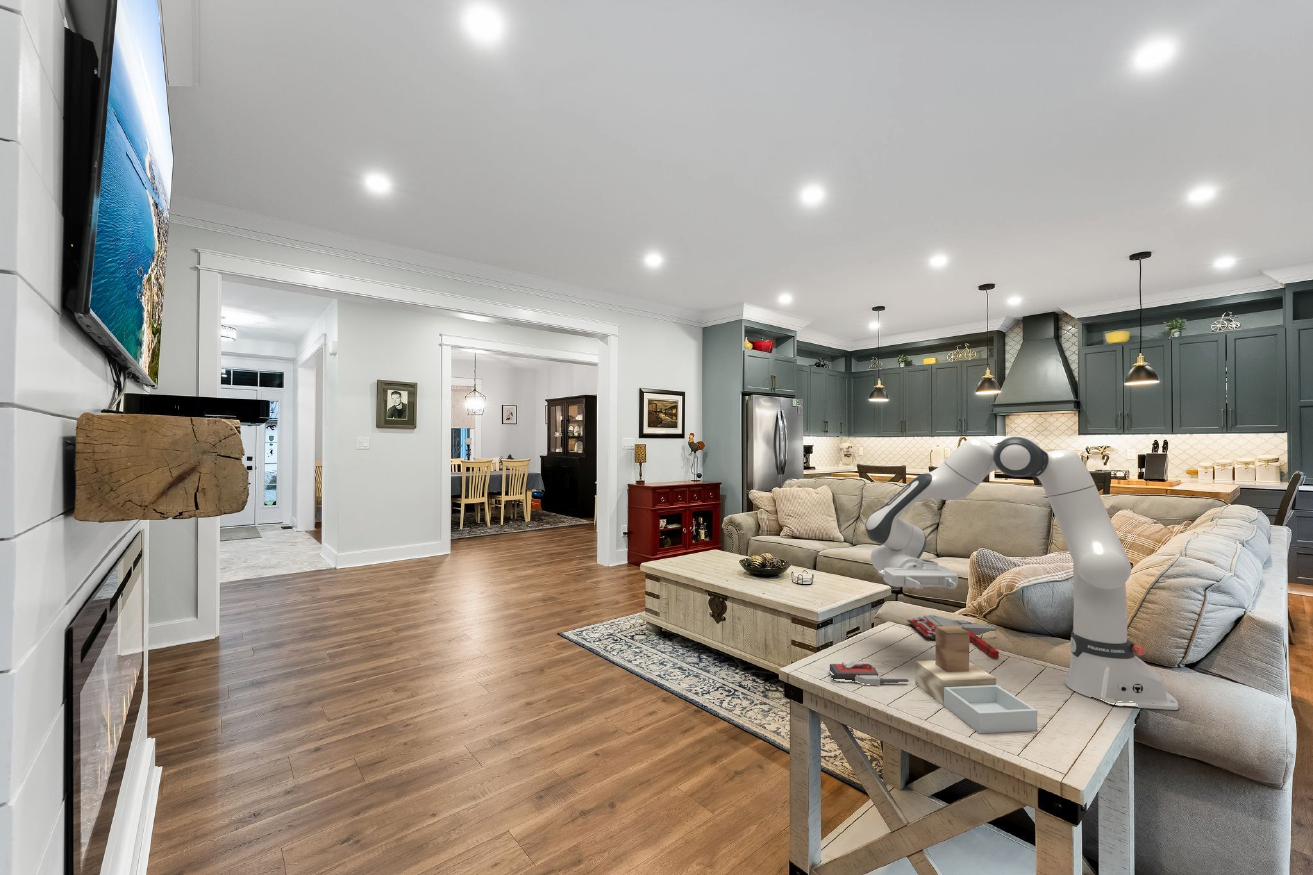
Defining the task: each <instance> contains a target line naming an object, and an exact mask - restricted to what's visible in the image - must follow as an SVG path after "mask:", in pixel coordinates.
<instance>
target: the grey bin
mask: <svg viewBox="0 0 1313 875" xmlns="http://www.w3.org/2000/svg"><path fill="white" fill-rule="evenodd" d="M943 706H944V707H945V708H946V709H948V710H949V711H950V712H951V713H952V714H954V715H955V716H956V717H957V718H959V719H960V720H961V721H962V722H964V723H965V724H966V725H968V726H969V727H970V728H971V729H973V730H974V731H976V732H977V734H994V733H1013V732H1015V733H1016V732H1030V731H1038V709H1036V708H1034V707H1033V706H1031V705H1029V704H1028V703H1026V702H1025V701H1023V699H1020V698H1019V697H1017V696H1016V695H1014V694H1013V693H1010V692H1009V691H1007V690H1006V689H1004V688H1003V687H1001V686H999V684H996V685H983V686H961V687H944V705H943Z"/></svg>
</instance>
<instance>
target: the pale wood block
mask: <svg viewBox="0 0 1313 875" xmlns="http://www.w3.org/2000/svg"><path fill="white" fill-rule="evenodd" d="M914 683H915V685H917V686H918V687H920V689H922V690H923V691H924V692H926V693H927V694H928V695H930V696H931V697H932V698H933V699H934V700H936V701H937V702H939V703H940V704H941V705H942V706H944V687H961V686H983V685H997V678H996V677H995V676H993V675H992V674H990V673H989V672H986V671H985V670H984V669H982V668H981V667H978V666H977V665H975V664H973V663H972V662H970V661H969V671H966V672H946V671H944V670H943V669H942V668H940V667H939V666H937V665H936V664H935V660H916V661H915V682H914Z"/></svg>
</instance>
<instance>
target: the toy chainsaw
mask: <svg viewBox="0 0 1313 875" xmlns="http://www.w3.org/2000/svg"><path fill="white" fill-rule="evenodd" d="M830 671H831V672H832V673H833V674H834V675H832V676H831V675H830V676H831V677H830V678H833V679H845V680H852V681H858V682H860V683H864V684H870V685H880V686H881V684H898V683H909V679H907V678H883V677H879V675H880V674H879V672H878V671H877V670H876V668H875V667H874V666H872V664H870V663H869V662H868V661H867V660H852V661H851V662H849V663H846V661H845V662H844V661H842V662H841V663H830V664H829V672H830Z"/></svg>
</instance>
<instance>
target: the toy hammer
mask: <svg viewBox="0 0 1313 875" xmlns="http://www.w3.org/2000/svg"><path fill="white" fill-rule="evenodd" d="M965 620H966V619H965ZM965 620H964V619H960V620H959V619H951V618H945V617H942V616H938V615H935V614H932V615H931V614H929V615H923V616H917V617H912V619H911V618H910V619H909V618H907V619H906V621H907V622H908V623H909V624H910V625H911V626H913V628H915V629H916V630H917V631H918V632H919V633H920V634H922V635H923V636H924V637H925V638H928V639H929V638H930V639H931V640H936V626H959V627H961V628H962V629H964V630H966V631H968V632H970V643H972V644H973V645H975V646H976V647H977V648H978V649H980V650H981V651H982V652H984V653H985V654H987V655H988V656H989V657H990V658H992V659H999V658H1000V652H999V650H997V649H996V648H995V647H993V646H992V645H990V644H989V643H987V642H986V641H984V640H983V638H979V637H978V636H976V635H980V634H982V633H986V632H989V631H996V632H997V627H995V626H993V625H992V626H989V625H981V624H977V623H971V622H968V621H965Z"/></svg>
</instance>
